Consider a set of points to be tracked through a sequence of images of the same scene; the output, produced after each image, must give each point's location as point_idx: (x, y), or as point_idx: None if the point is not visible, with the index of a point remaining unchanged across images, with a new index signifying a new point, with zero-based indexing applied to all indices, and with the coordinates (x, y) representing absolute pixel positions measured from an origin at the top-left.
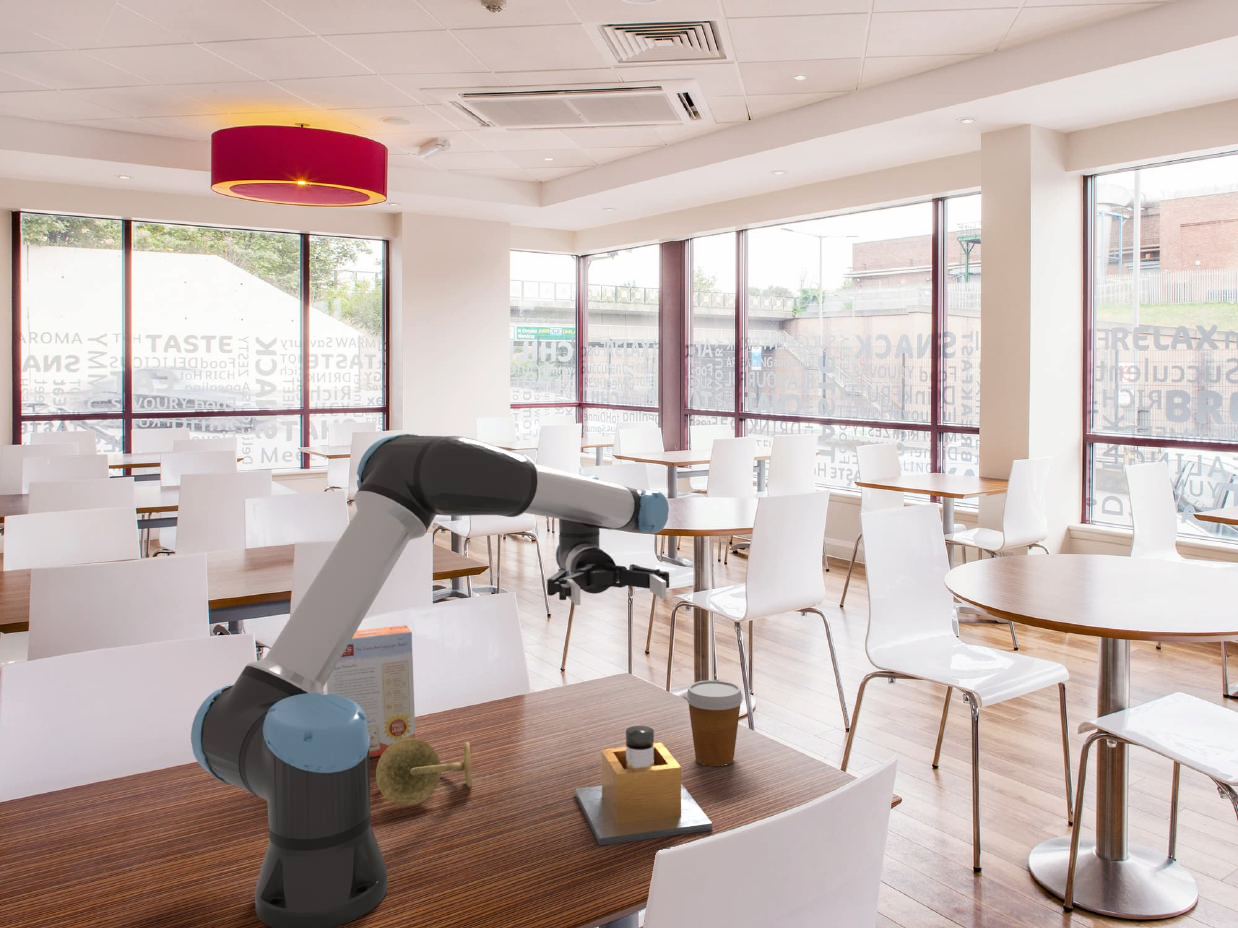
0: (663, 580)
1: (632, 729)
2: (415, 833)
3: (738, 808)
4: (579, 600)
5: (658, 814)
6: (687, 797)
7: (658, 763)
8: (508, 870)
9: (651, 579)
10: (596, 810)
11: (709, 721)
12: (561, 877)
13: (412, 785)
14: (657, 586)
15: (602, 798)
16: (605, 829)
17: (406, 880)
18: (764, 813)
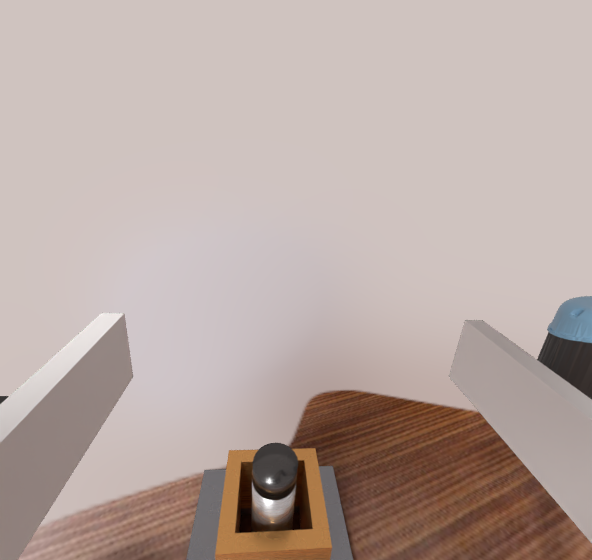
0: (87, 329)
1: (285, 470)
2: (569, 553)
3: (137, 524)
4: (456, 363)
5: None
6: (195, 551)
7: (236, 527)
8: (414, 449)
9: (6, 471)
10: (334, 538)
11: None
12: (365, 430)
13: None
14: (96, 381)
15: None
16: (325, 483)
17: (500, 453)
18: (118, 501)
